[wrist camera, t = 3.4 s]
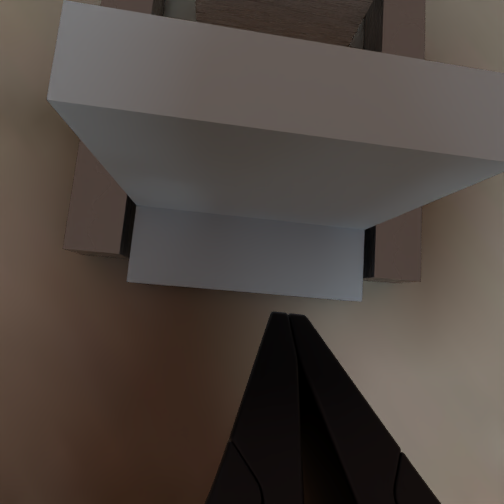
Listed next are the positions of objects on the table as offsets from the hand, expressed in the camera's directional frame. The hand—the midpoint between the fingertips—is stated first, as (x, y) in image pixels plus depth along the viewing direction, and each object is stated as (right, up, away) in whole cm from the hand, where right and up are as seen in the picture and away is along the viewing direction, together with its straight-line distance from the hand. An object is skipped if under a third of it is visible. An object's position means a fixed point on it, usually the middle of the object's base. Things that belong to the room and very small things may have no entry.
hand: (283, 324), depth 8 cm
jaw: (-1, +3, +7) cm, 8 cm away
